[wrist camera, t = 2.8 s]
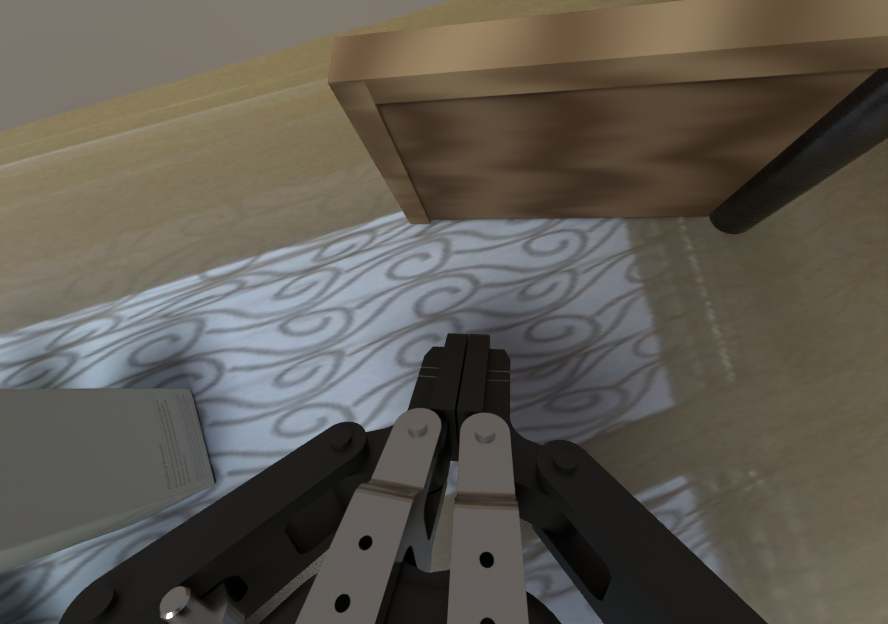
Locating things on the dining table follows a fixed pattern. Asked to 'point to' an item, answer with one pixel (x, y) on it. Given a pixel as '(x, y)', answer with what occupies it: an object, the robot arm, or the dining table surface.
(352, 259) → the dining table surface
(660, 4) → the gate
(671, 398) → the dining table surface
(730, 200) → the gatepost
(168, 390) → the supplement box
